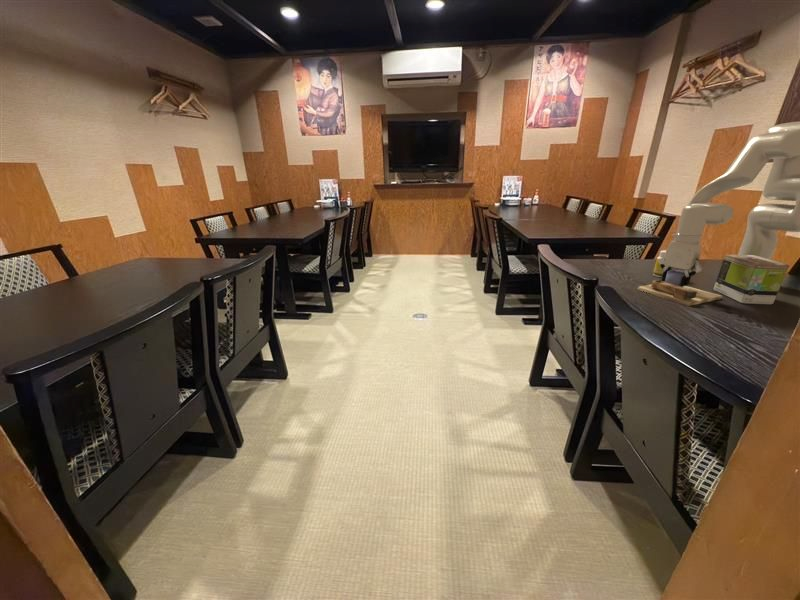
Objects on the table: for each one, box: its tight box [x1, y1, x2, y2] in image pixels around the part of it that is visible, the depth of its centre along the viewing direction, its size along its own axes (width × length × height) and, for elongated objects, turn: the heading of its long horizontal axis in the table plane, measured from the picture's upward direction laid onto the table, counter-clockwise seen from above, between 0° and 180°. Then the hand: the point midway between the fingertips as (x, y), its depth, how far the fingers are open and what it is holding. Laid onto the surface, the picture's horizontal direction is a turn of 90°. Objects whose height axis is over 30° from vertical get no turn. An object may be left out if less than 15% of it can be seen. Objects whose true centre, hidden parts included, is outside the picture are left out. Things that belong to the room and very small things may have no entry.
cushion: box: [664, 269, 685, 287], centre depth 128 cm, size 6×6×6 cm
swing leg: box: [650, 278, 697, 299], centre depth 122 cm, size 15×4×3 cm, turn 15°
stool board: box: [636, 283, 723, 307], centre depth 124 cm, size 18×19×5 cm
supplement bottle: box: [652, 249, 674, 278], centre depth 144 cm, size 6×6×11 cm
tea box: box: [713, 254, 790, 305], centre depth 118 cm, size 15×10×15 cm
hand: (674, 282), depth 129 cm, fingers open, 6 cm apart
